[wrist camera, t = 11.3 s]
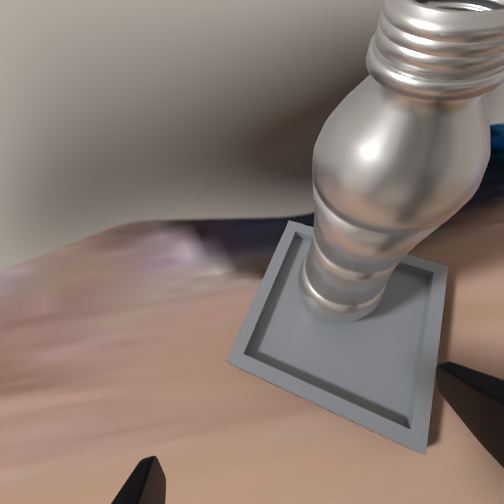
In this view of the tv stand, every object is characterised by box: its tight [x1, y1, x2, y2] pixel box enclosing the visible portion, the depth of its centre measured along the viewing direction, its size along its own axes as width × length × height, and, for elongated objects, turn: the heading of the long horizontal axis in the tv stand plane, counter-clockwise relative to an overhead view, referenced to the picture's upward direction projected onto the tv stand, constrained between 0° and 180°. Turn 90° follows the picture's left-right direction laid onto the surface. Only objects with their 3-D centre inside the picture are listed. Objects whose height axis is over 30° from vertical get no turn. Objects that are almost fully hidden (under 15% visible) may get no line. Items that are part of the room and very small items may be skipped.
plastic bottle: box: [298, 0, 504, 324], centre depth 15 cm, size 6×7×20 cm
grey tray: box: [226, 220, 449, 455], centre depth 22 cm, size 14×14×2 cm
